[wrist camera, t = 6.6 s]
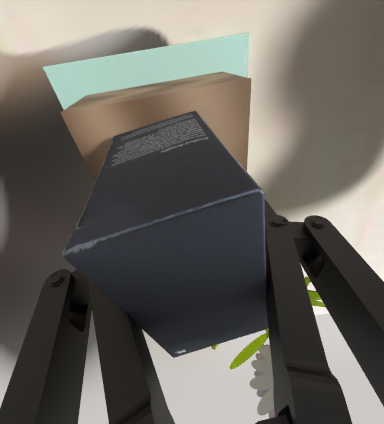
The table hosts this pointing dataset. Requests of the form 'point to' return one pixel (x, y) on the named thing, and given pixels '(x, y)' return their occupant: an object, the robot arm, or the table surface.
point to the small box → (176, 236)
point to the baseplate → (148, 67)
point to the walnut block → (162, 113)
